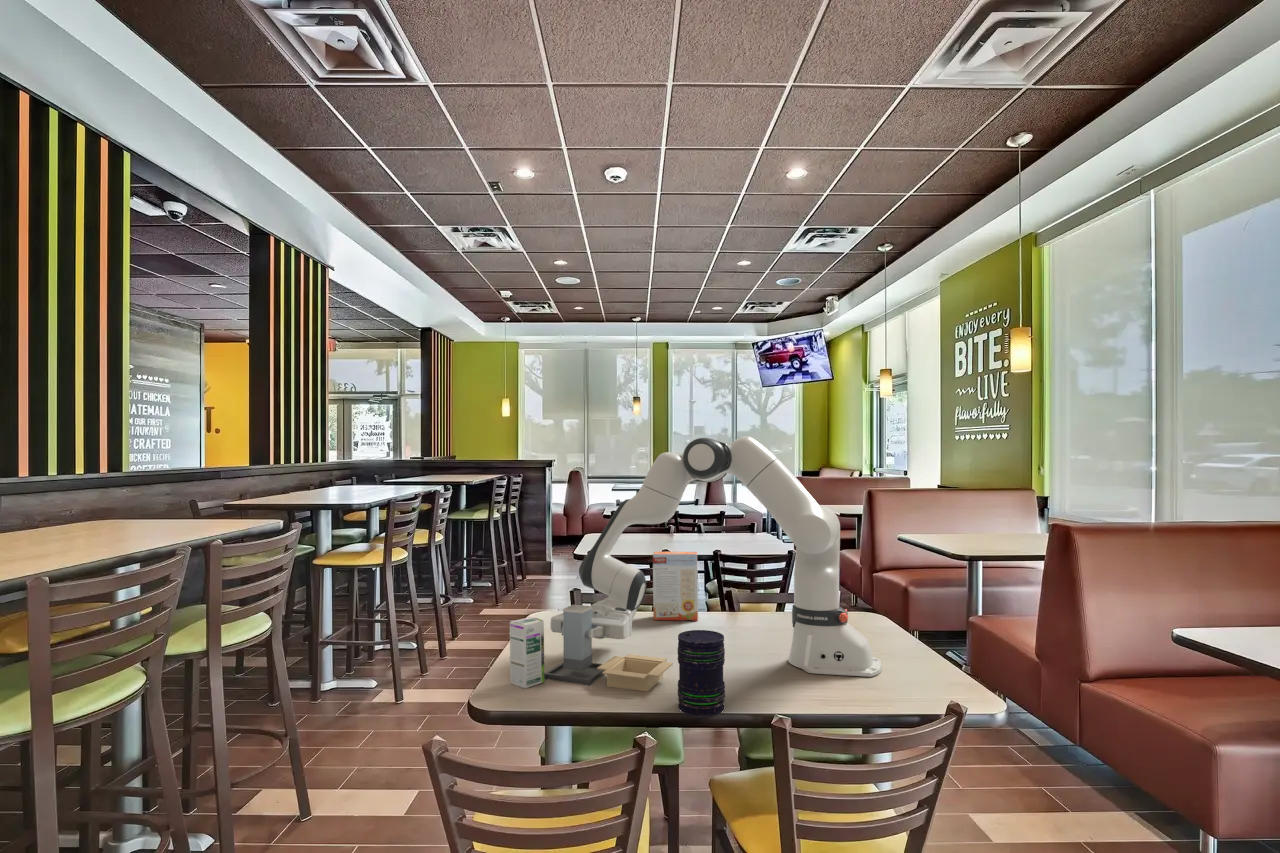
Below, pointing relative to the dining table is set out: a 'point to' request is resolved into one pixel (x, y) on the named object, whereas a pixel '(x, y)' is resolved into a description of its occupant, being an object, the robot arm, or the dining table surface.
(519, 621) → the syrup box
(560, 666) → the tray
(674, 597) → the cracker box
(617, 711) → the dining table surface
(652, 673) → the carton
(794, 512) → the robot arm
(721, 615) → the dining table surface
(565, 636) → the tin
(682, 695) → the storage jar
